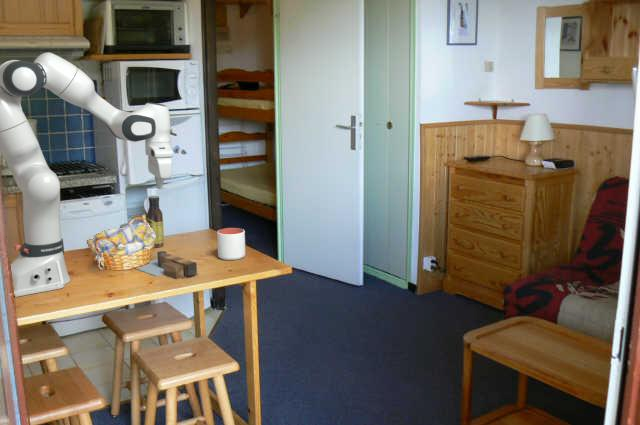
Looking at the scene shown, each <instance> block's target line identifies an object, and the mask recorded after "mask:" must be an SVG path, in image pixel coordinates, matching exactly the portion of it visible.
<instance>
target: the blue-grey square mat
mask: <svg viewBox="0 0 640 425" xmlns="http://www.w3.org/2000/svg"><path fill="white" fill-rule="evenodd" d="M149 262H150V263H149V264H147V265H144V266H142V267H138V268H136V269H135V270H137V269H138V270H137V271H140V272H143V273H146V274H149V275H151V276H153V277H160V276H163V275H164V268H162V267H161V266H158V259H154V260H151V261H149ZM164 276H165V275H164Z"/></svg>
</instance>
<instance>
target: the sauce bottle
mask: <svg viewBox="0 0 640 425" xmlns="http://www.w3.org/2000/svg"><path fill="white" fill-rule="evenodd" d="M148 204H149V205H148V211H147V214H146V217H145V218H146V223H147V222H148V223H149V225H150V227H151V228H152V229H153V231H154V232H155V235H156V238H155V241H154V248H162V247H164V245H165V244H164V242H165V237H164V236H165V235H164V233H165V232H164V219H163V218H164V217H163V211H162V210H161V209H160V196H159V195H150V196H148Z"/></svg>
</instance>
